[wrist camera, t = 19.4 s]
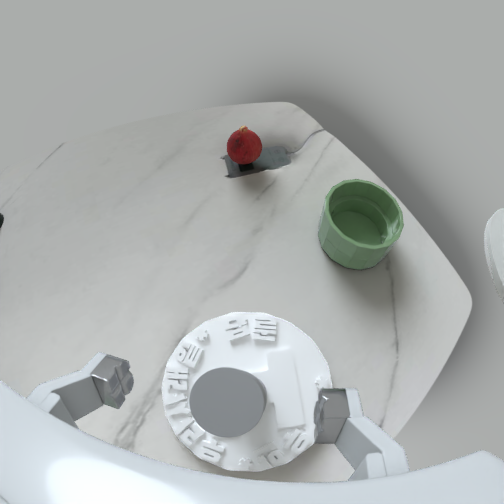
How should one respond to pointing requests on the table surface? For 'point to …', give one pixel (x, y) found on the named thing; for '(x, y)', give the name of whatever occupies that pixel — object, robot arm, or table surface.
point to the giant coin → (261, 366)
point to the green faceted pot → (359, 224)
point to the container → (227, 401)
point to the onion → (244, 146)
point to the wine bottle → (1, 219)
